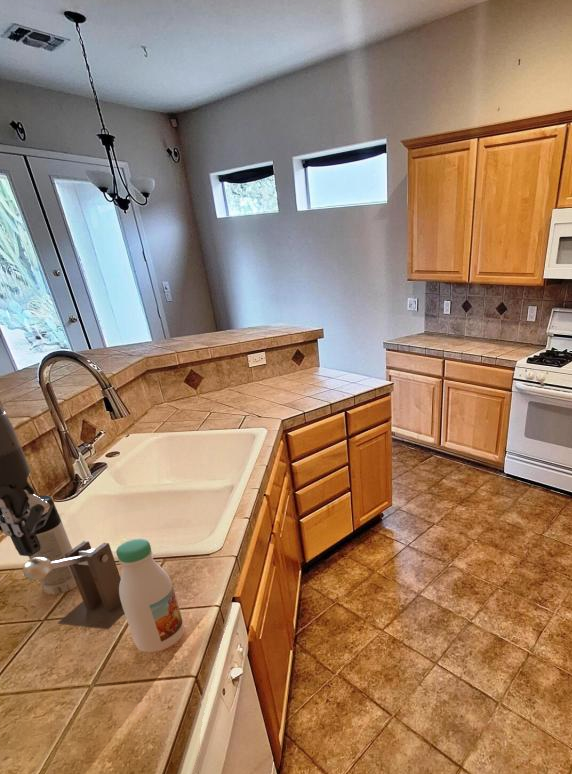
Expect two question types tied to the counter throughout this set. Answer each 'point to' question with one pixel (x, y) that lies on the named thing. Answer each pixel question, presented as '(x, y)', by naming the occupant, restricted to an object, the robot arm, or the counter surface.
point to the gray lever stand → (95, 588)
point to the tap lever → (51, 565)
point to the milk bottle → (148, 598)
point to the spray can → (54, 553)
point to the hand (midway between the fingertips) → (30, 552)
